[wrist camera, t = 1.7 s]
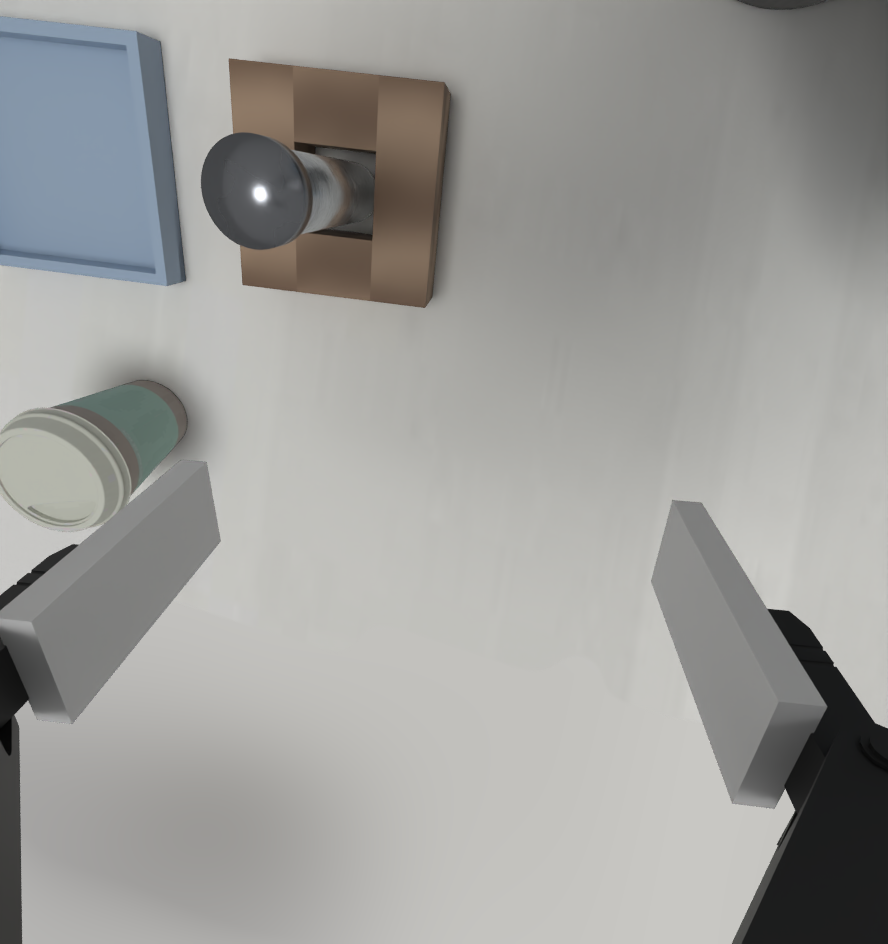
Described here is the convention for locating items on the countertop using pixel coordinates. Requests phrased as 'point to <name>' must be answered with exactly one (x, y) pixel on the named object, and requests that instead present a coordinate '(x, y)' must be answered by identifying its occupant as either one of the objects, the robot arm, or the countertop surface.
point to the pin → (280, 191)
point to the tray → (86, 154)
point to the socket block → (396, 176)
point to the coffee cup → (87, 454)
